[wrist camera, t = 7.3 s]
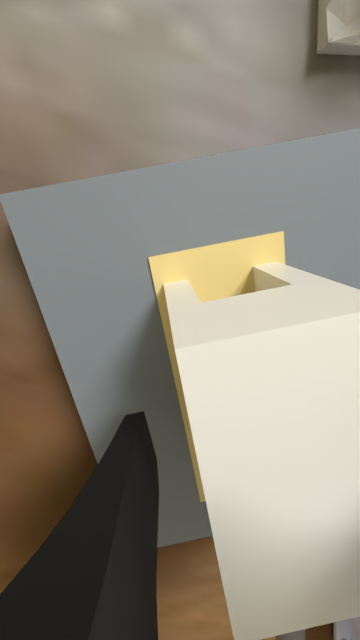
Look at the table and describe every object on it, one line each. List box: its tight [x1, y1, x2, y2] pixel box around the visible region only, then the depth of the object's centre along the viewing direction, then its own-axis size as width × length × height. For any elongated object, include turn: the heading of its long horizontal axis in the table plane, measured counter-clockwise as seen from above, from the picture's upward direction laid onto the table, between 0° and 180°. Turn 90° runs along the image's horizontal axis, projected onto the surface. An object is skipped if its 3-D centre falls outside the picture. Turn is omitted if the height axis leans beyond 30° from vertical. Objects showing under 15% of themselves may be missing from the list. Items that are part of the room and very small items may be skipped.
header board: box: [0, 128, 360, 548], centre depth 11 cm, size 16×12×4 cm
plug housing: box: [164, 262, 360, 640], centre depth 9 cm, size 12×4×5 cm, turn 10°
